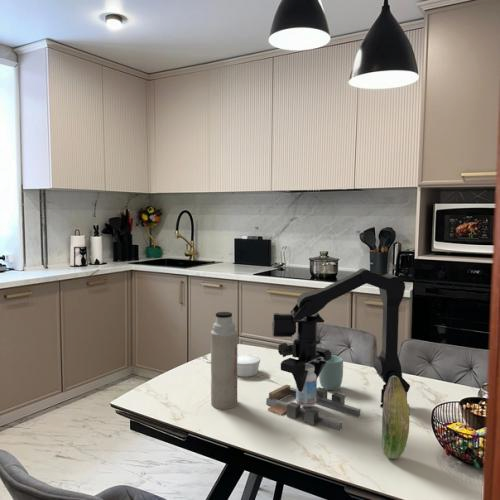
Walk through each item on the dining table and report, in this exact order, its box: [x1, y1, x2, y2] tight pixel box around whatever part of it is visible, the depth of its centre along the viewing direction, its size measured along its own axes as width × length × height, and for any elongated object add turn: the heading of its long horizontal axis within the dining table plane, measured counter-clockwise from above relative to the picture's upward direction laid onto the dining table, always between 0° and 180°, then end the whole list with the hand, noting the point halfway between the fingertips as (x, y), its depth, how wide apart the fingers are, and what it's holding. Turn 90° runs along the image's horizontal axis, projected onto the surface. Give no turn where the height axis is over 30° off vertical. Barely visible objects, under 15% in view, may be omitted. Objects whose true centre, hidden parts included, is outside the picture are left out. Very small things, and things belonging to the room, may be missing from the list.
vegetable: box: [381, 376, 410, 460], centre depth 107 cm, size 6×6×20 cm
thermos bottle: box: [210, 311, 238, 410], centre depth 137 cm, size 8×8×28 cm
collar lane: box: [265, 384, 362, 431], centre depth 134 cm, size 25×18×4 cm
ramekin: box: [237, 353, 261, 378], centre depth 165 cm, size 11×11×5 cm
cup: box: [318, 354, 344, 391], centre depth 150 cm, size 8×8×10 cm
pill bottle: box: [295, 364, 318, 407], centre depth 135 cm, size 6×6×11 cm
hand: (306, 388), depth 135 cm, fingers closed on pill bottle, 6 cm apart
